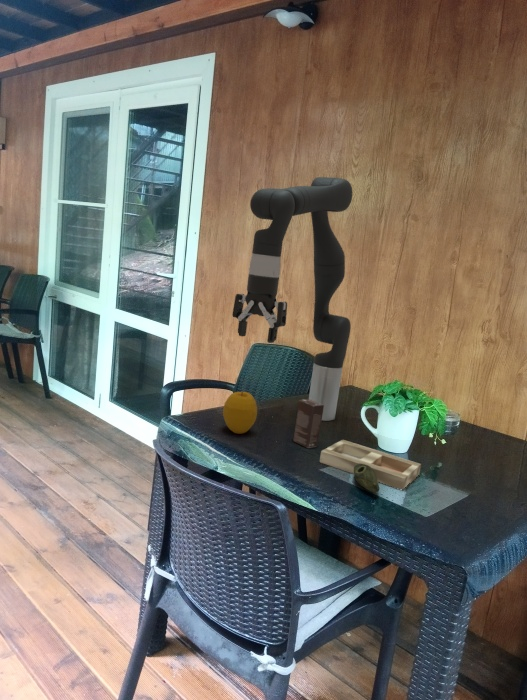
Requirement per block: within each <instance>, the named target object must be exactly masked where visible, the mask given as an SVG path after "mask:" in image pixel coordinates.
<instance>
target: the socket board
mask: <svg viewBox="0 0 527 700" xmlns="http://www.w3.org/2000/svg"><path fill="white" fill-rule="evenodd" d="M319 463H321V464H324V465H327V466H329V467H333V468H335V469H338V470H341V471H344V472H347V473H350V474H353V475H354V467H355V466H356V465H357V464H359V463H361V464H365V465H368V466H370V467H371V468H372V469H373V470H374V472H375V474H376V477H377V481H378V483H379V482H380V483H379V484H382V483H383V485H385V484H386V485H385V486H388V485H389V486H388V487H391V486H392V487H391V488H394V487H395V488H394V489H397V488H399V489H398V490H400V489H403V490H405V489H406V488H407V487H408V486H409V485H410V484H412V482H413V481H414V480H416V479H417V478H418V477H419V476H420V473H421V468H422V463H419V462H415V461H412V460H409V459H406V458H403V457H400V456H397V455H393V454H390V453H387V452H384V451H381V450H378V449H374V448H371V447H368V446H364V445H361V444H358V443H354V442H352V441H349V440H345V439H341V440H339V441H337V442H335V443H333V444H332V445H330V446H327V448H325V449H322V450H321V451H320V457H319ZM418 475H419V476H418ZM417 476H418V477H417ZM416 477H417V478H416ZM409 483H410V484H409ZM408 484H409V485H408ZM407 485H408V486H407ZM406 486H407V487H406ZM405 487H406V488H405Z"/></svg>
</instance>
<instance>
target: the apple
mask: <svg viewBox="0 0 527 700" xmlns="http://www.w3.org/2000/svg"><path fill="white" fill-rule="evenodd" d="M222 415H223V419H224V422H225V425H226V426H227V428H228V429H229V430H230V431H231V432H232V433H234V434H241V435H242V434H245V433H247V432H248V431H249V430H250V429H251V428H252V426H254V424H255V422H256V420H257V417H258V405H257V401H256V399H255V398H254V396H253V395H252V394H251V393H250V392H247V391H235V392H233V393H231V394H230V395H229V396H228V397H227V399H226V400H225V402H224V405H223V409H222Z"/></svg>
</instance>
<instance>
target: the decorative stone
mask: <svg viewBox="0 0 527 700" xmlns="http://www.w3.org/2000/svg"><path fill="white" fill-rule="evenodd" d="M353 476H354V479H355V481H356V482H357V483H358V485H360V486H361V487H362V488H364V489H366V490H368V491H369V492H372V493H379V492H380V485H379V484H380V483H379V482H378V481H377V477H376V474H375V472H374V470H373V469H372V468H371V467H370V466H368V465H365V464H361V463H359V464H357V465H356V466H355V467H354V474H353Z"/></svg>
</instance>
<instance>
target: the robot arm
mask: <svg viewBox="0 0 527 700" xmlns="http://www.w3.org/2000/svg"><path fill="white" fill-rule="evenodd" d="M352 199H353V187H352V184H351V183H350V181H349V180H347V179H345V178H341V177H326V176H318V177H315V178H314V179H313V180H312V182H311V185H299V186H290V187H289V186H288V187H285V188H284V187H283V188H261V189H258V190H257V191H256V192H254V193H253V195H252V196H251V198H250V203H249V206H250V207H249V208H250V210H251V213H252V214H253V215H254V216H255V217H256V218H258V219H261V220H268V221H269V220H270V221H271V223H270V224H269V226H268V227H267V228H263V229H258V230H256V231H255V233H254V237H253V243H252V254H251V258H250V261H249V268H248V274H247V275H248V276H247V285H246V291H247V294H246V295H245V293H236V294H235V297H234V302H233V310H232V317H233V318H236V319H237V321H238V326H237V333H238V337H245V336H246V335H247V328H248V321H247V320H248V319H249V318H250V317H251V316H252V315H258V316H260V317H264V319H265V321H267V323H268V325H269V328H268V333H267V340H266V341H267V343H269V344H272V343H275V341H277V336H278V335H277V334H278V329H279V328H281V327H286V324H287V311H288V302H287V301H278V300H277V295H278V289H279V283H280V282H279V281H280V274H281V273H280V272H281V267H282V266H281V259H282V258H281V257H282V252H283V251H282V250H283V242H284V238H285V235H286V234H287V230H288V228H289V225H290V223H291V221H292V219H293V217H295V216H298V215H304V214H309V213H310V216H311V223H312V225H311V226H312V233H313V234H312V235H313V236H312V237H313V274H314V275H313V276H314V277H313V279H314V306H313V307H314V308H313V309H314V310H313V326H312V328H313V329H312V330H313V336H314V339H315V340H316V341H318V342H320V343H324V344H329V345H332V346H331V349H330V350H329V351H326V352H319V353H317V354H316V353H315V354H314V355H315V356H314V360H313V367H312V374H311V380H310V386H309V387H310V388H309V394H308V399H310V400H312V401H315V402H317V403H320V404H322V405H324V408H323V415H322V421H325V422H326V421H328V422H329V421H334V420H335V419H336V412H337V406H338V400H339V395H340V386H341V381H342V373H343V367H344V362H345V359H346V355H347V349H348V345H349V339H350V335H351V321H350V319H349V318H348V317H345V316H340V315H337V314H330V309H329V308H330V302H331V300H332V297H333V296H334V294H335V292H336V291H337V290H338V289H339V287H340V285H341V284H342V283H343V280H344V278H345V274H346V258H345V257H346V256H345V252H344V250H343V247H342V245H341V244H340V242H339V240H338V238H337V236H336V235H335V234H334V231H333V230H332V228H331V227H332V226H331V225H330V220H329V215H328V214H329V213H328V212H331V213H339V212H344V211H346V210H347V209H348V208H349V207H350V205H351V203H352V201H353V200H352ZM245 303H246V306H245V307H244V304H245ZM274 309H276V311H277V312H275V310H274ZM276 313H277V314H276Z"/></svg>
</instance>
